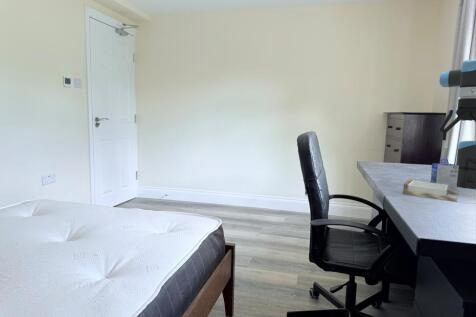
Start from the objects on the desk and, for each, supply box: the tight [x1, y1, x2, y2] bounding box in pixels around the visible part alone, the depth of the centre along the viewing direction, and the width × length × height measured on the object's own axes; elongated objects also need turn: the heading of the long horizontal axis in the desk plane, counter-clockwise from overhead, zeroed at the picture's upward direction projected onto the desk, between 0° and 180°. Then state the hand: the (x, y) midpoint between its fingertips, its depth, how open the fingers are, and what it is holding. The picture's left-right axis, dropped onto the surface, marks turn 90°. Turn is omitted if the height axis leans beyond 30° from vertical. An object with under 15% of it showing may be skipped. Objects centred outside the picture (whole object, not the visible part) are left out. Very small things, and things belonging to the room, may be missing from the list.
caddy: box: [407, 179, 448, 196], centre depth 143 cm, size 14×14×4 cm
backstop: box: [402, 178, 459, 202], centre depth 143 cm, size 20×16×4 cm
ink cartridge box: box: [430, 158, 459, 191], centre depth 153 cm, size 10×6×14 cm, turn 89°
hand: (464, 148), depth 138 cm, fingers open, 13 cm apart
